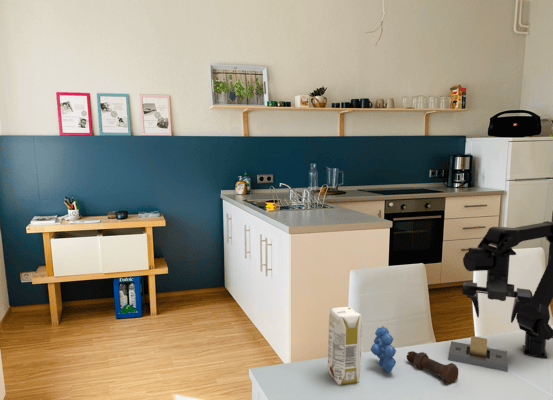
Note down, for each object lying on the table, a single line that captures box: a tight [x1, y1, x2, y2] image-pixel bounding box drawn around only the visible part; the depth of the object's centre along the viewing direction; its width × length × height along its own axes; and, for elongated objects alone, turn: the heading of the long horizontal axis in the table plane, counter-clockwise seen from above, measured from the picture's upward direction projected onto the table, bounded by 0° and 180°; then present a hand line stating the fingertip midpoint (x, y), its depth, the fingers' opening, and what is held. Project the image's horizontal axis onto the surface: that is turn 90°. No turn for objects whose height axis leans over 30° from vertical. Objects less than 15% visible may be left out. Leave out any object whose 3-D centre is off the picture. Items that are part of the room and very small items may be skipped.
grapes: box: [370, 325, 397, 374], centre depth 128 cm, size 12×7×12 cm, turn 8°
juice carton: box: [327, 306, 363, 386], centre depth 122 cm, size 8×9×19 cm
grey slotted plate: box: [447, 340, 509, 372], centre depth 136 cm, size 10×16×2 cm, turn 64°
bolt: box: [406, 350, 459, 385], centre depth 127 cm, size 6×5×15 cm
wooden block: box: [469, 335, 488, 358], centre depth 136 cm, size 4×4×6 cm
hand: (494, 319), depth 136 cm, fingers open, 9 cm apart
